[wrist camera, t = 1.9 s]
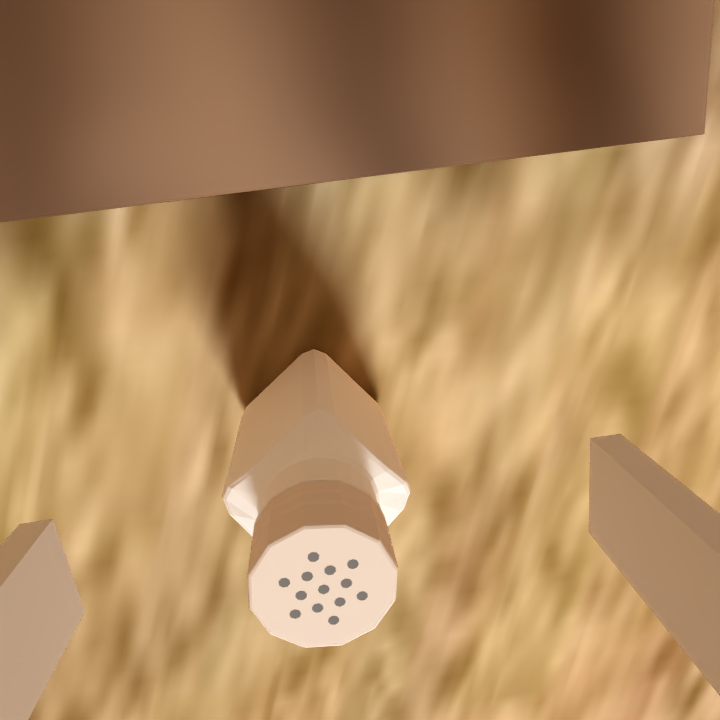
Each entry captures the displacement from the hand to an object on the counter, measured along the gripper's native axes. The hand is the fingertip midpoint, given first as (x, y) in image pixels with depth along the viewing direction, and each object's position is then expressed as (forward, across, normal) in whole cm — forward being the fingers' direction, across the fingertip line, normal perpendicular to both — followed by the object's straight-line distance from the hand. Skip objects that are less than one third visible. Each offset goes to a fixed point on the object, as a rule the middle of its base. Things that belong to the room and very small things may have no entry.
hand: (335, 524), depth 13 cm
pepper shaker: (+8, 0, 0) cm, 8 cm away
